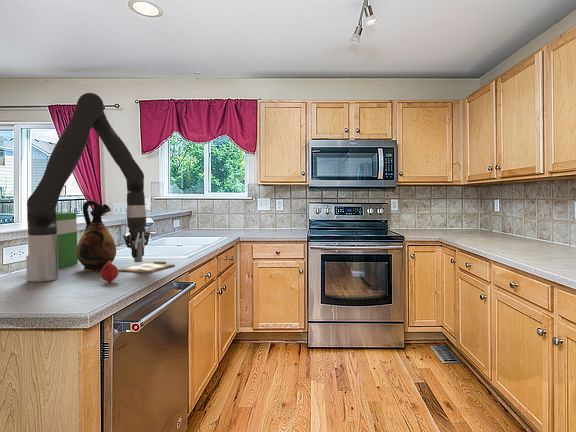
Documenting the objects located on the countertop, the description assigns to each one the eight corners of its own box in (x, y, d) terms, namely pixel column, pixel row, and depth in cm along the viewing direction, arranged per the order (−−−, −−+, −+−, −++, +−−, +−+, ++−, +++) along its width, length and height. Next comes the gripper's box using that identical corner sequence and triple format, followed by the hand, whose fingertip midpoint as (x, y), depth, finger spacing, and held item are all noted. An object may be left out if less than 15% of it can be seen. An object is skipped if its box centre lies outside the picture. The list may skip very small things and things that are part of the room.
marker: (138, 262, 159) (137, 238, 159) (132, 262, 161) (131, 238, 160) (144, 261, 163) (143, 237, 162) (138, 260, 164) (137, 237, 163)
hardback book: (54, 270, 164) (52, 214, 162) (37, 270, 164) (35, 214, 163) (77, 263, 181) (76, 212, 180) (62, 263, 181) (60, 212, 180)
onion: (109, 285, 136) (108, 262, 136) (97, 283, 138) (96, 261, 138) (121, 281, 142) (121, 260, 141) (109, 280, 144) (109, 259, 143)
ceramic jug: (124, 266, 172) (122, 199, 170) (101, 273, 157) (99, 200, 155) (90, 265, 175) (88, 199, 173) (65, 272, 160) (62, 200, 158)
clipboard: (147, 273, 156) (147, 269, 156) (118, 271, 161) (118, 266, 161) (174, 266, 173) (174, 262, 173) (147, 264, 178) (147, 260, 178)
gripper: (141, 215, 168) (142, 253, 169) (116, 217, 155) (118, 259, 156) (155, 215, 166) (156, 254, 167) (131, 217, 153) (133, 260, 154)
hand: (138, 256), depth 161 cm, fingers closed on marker, 3 cm apart
